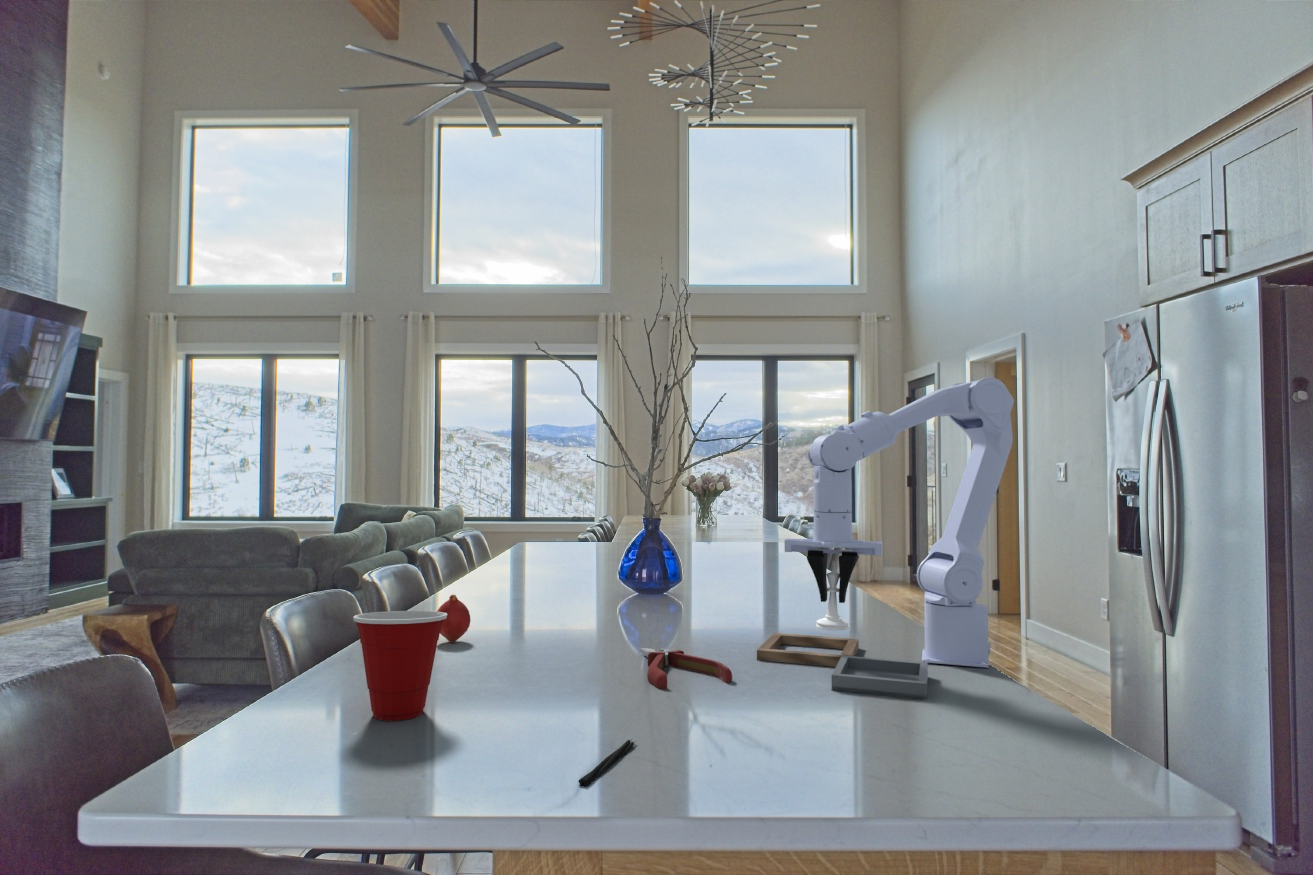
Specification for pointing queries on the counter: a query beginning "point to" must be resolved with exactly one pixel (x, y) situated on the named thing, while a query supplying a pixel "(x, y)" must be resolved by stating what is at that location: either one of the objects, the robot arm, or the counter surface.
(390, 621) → the plastic cup
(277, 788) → the counter surface
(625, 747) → the electrical cable
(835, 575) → the chess piece
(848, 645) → the brown square frame
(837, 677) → the tray
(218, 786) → the counter surface
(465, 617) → the onion
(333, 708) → the counter surface
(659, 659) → the pliers
